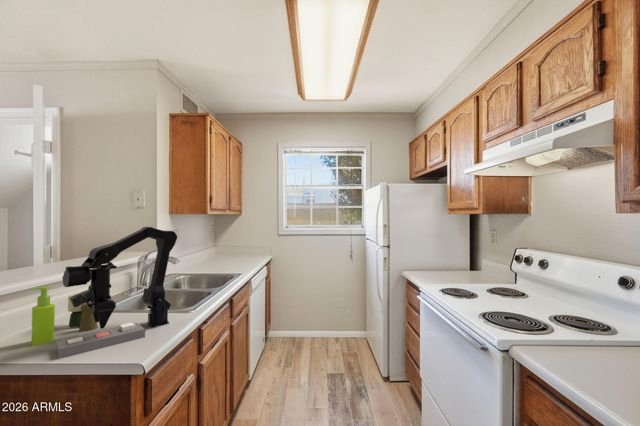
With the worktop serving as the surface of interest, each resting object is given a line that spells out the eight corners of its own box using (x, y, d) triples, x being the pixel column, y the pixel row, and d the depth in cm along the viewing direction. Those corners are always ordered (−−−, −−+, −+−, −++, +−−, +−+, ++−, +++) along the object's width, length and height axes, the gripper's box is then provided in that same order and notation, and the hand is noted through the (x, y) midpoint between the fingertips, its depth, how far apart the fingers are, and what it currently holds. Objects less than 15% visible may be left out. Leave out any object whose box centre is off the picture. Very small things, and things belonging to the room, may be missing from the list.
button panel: (137, 331, 117) (137, 322, 117) (144, 338, 110) (145, 329, 110) (55, 350, 100) (56, 340, 100) (59, 360, 93) (59, 349, 93)
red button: (108, 339, 108) (108, 331, 108) (110, 342, 105) (110, 334, 105) (94, 343, 105) (94, 334, 105) (96, 346, 102) (96, 337, 103)
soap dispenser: (37, 340, 109) (39, 285, 110) (58, 339, 110) (59, 285, 110) (23, 347, 103) (24, 289, 104) (44, 346, 104) (46, 288, 104)
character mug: (92, 326, 123) (93, 294, 124) (70, 331, 118) (71, 298, 118) (85, 320, 130) (86, 290, 131) (64, 325, 125) (65, 294, 125)
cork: (87, 333, 116) (88, 304, 116) (74, 332, 117) (75, 304, 117) (101, 328, 122) (102, 300, 122) (89, 327, 123) (90, 300, 123)
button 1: (81, 345, 103) (82, 337, 103) (83, 349, 100) (84, 340, 100) (66, 349, 100) (66, 340, 100) (68, 353, 97) (68, 343, 97)
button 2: (132, 330, 114) (132, 322, 114) (135, 332, 111) (135, 324, 111) (119, 333, 111) (119, 324, 111) (122, 335, 108) (122, 327, 108)
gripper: (68, 281, 110) (67, 324, 110) (75, 289, 97) (75, 338, 97) (105, 277, 118) (104, 317, 118) (116, 284, 105) (115, 329, 105)
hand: (99, 325), depth 109 cm, fingers open, 9 cm apart
